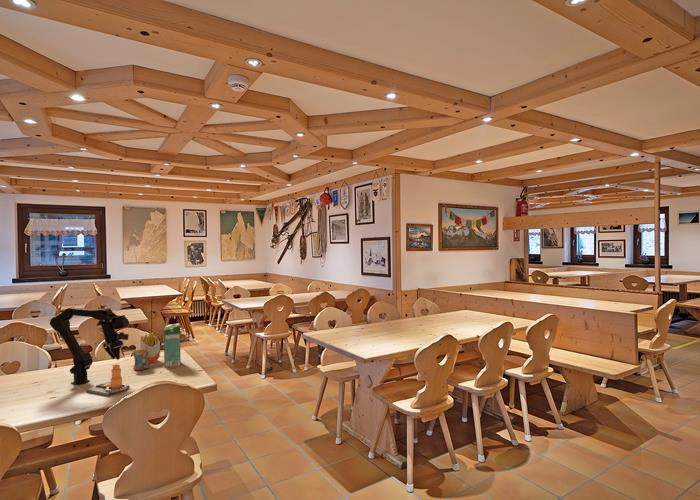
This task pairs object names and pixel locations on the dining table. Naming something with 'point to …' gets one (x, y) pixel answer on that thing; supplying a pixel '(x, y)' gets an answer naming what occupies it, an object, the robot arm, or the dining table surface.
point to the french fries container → (150, 347)
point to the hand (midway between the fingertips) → (116, 359)
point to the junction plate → (106, 389)
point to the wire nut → (116, 378)
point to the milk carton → (172, 345)
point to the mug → (141, 359)
